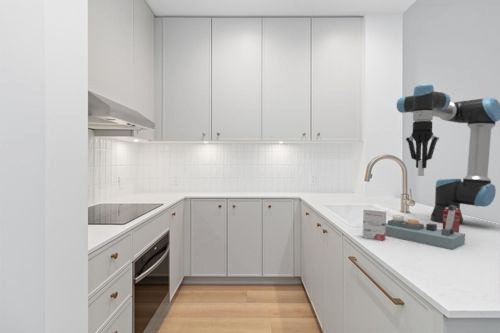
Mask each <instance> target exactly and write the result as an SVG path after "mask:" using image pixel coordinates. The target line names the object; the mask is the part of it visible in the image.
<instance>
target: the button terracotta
mask: <svg viewBox="0 0 500 333" xmlns="http://www.w3.org/2000/svg"><path fill="white" fill-rule="evenodd" d="M406 221H407V224H410V225H416V226H417V225H419V223H420V221H419V220H416V219H407V220H406Z"/></svg>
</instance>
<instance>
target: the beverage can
mask: <svg viewBox="0 0 500 333" xmlns="http://www.w3.org/2000/svg"><path fill="white" fill-rule="evenodd" d="M448 211H449V210H448V207H446V208H445V210H444V211H443V223H442V229H445V226H446V221H447V216H448ZM459 222H460V212H459V210H458V209H456V210H455V215H454V220H453V225H452V228H454V232H458V233H460V224H459Z"/></svg>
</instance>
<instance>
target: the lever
mask: <svg viewBox="0 0 500 333" xmlns="http://www.w3.org/2000/svg"><path fill="white" fill-rule="evenodd" d="M456 209H457V206H455V205H450V206H449V207H448V210H449V211H448V216H447V221H446V226H445V230H449V233H451V232H452V230H451V229H452V225H453V220H454V215H455V210H456Z"/></svg>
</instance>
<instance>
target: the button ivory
mask: <svg viewBox="0 0 500 333" xmlns="http://www.w3.org/2000/svg"><path fill="white" fill-rule="evenodd" d="M404 218H405V216H404V215H401V214H400V215H398V214H396V215H395V214H394V215H392V220H393V222H399V223H403V222H404V221H405V220H404Z"/></svg>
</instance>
